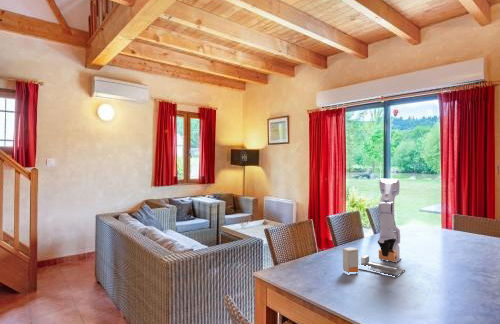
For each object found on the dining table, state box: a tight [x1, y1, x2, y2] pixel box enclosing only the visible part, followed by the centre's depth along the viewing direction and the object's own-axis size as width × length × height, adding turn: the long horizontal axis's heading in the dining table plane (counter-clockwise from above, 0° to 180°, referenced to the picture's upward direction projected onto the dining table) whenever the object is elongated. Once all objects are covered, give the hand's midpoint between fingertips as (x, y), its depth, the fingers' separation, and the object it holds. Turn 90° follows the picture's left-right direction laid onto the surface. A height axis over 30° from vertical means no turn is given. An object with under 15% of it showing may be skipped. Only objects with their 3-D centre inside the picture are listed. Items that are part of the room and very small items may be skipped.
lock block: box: [378, 248, 397, 263], centre depth 145 cm, size 7×5×4 cm, turn 46°
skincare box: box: [342, 246, 359, 273], centre depth 144 cm, size 6×4×12 cm
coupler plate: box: [360, 254, 406, 278], centre depth 148 cm, size 12×19×5 cm, turn 45°
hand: (387, 254), depth 145 cm, fingers closed on lock block, 5 cm apart
